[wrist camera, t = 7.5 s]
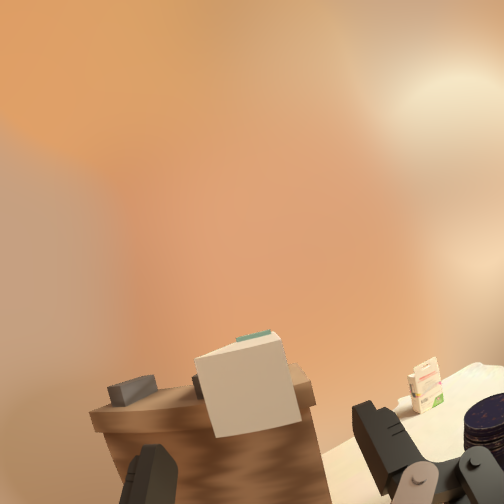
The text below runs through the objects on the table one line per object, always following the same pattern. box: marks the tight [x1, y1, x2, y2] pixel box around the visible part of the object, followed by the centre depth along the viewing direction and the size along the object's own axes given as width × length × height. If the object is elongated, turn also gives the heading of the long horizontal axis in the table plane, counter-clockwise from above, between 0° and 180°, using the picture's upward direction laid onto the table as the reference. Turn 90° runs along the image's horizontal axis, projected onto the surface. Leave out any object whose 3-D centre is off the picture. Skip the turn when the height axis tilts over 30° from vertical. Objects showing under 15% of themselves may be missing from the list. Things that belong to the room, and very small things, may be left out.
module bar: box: [194, 330, 302, 438], centre depth 22 cm, size 4×23×4 cm, turn 176°
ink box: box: [407, 357, 444, 414], centre depth 60 cm, size 9×5×15 cm, turn 86°
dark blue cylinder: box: [464, 393, 504, 472], centre depth 20 cm, size 10×10×15 cm
